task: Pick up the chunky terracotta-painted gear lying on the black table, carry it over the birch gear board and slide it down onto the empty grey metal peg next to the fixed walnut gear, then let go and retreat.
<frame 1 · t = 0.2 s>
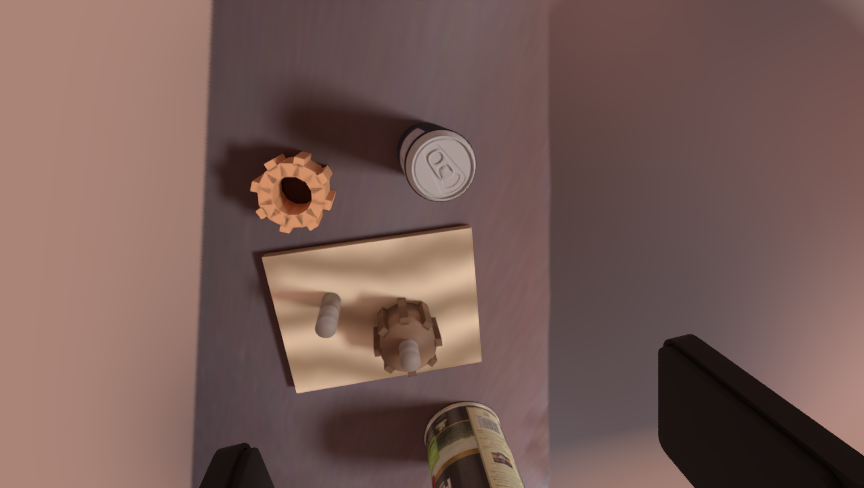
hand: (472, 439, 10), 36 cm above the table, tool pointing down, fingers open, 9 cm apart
loose gear: (299, 186, 42), on the table
coffee can: (462, 432, 56), on the table
gear board: (380, 308, 48), on the table
beverage can: (424, 150, 43), on the table
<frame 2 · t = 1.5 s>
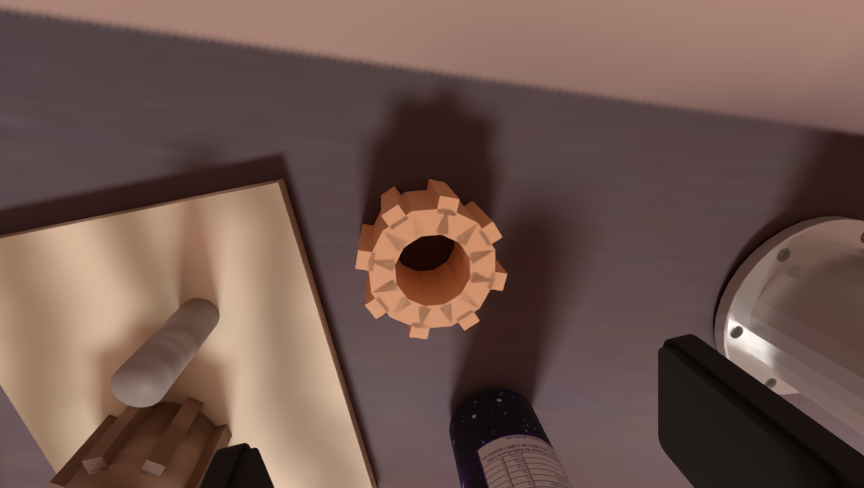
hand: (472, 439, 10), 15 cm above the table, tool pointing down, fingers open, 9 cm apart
loose gear: (423, 241, 24), on the table
gear board: (195, 388, 25), on the table
beverage can: (488, 413, 28), on the table
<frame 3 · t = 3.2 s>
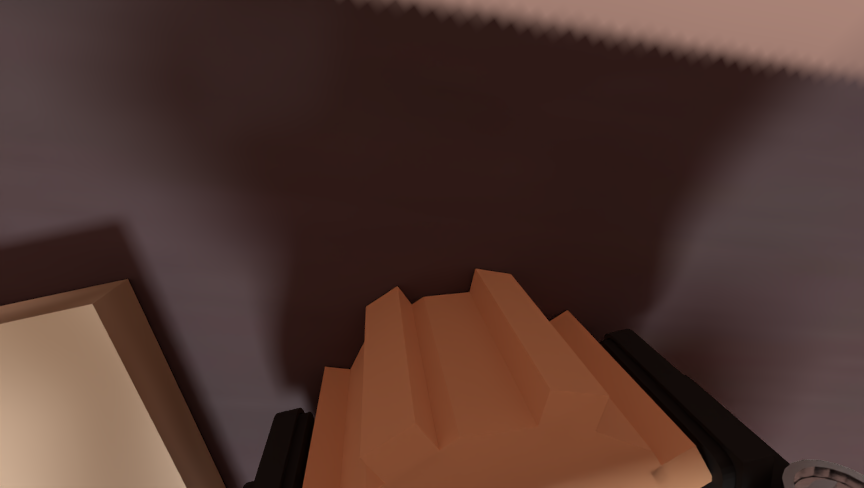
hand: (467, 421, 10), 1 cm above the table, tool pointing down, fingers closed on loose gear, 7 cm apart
loose gear: (459, 395, 11), on the table, touching gripper
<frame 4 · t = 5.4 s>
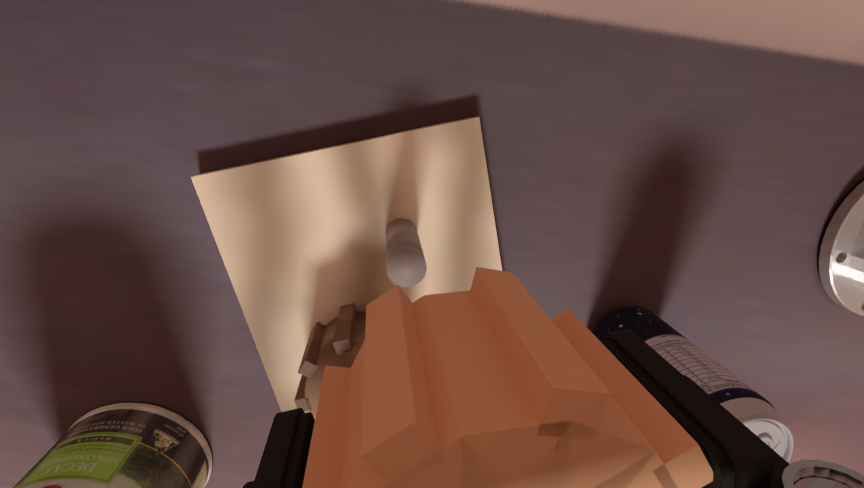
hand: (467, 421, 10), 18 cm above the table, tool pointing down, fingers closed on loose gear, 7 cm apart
loose gear: (460, 394, 11), point 17 cm above the table, touching gripper
coffee can: (140, 457, 31), on the table
gear board: (380, 303, 29), on the table
beverage can: (617, 333, 32), on the table
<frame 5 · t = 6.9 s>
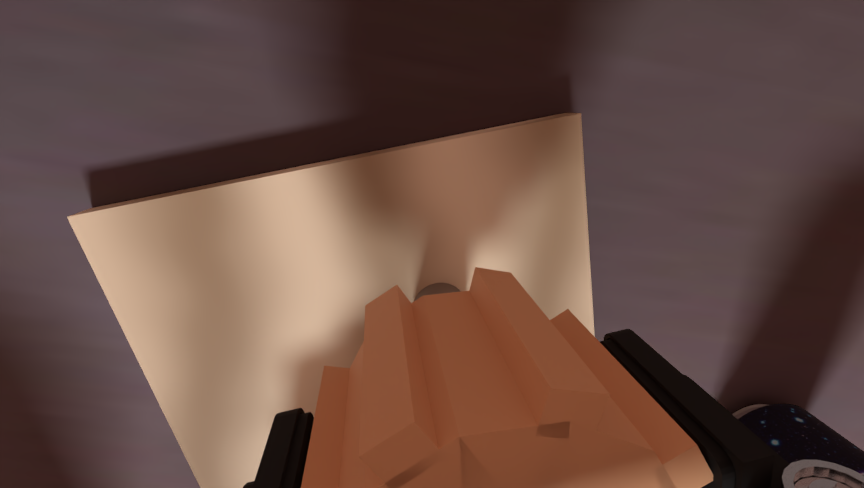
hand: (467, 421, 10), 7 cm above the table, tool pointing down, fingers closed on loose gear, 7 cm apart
loose gear: (459, 394, 11), point 6 cm above the table, touching gripper
gear board: (400, 406, 19), on the table
beverage can: (744, 434, 22), on the table
when the fingers open (4 cm above the table, at t = 8.0 s): loose gear drops 2 cm, resting on gear board.
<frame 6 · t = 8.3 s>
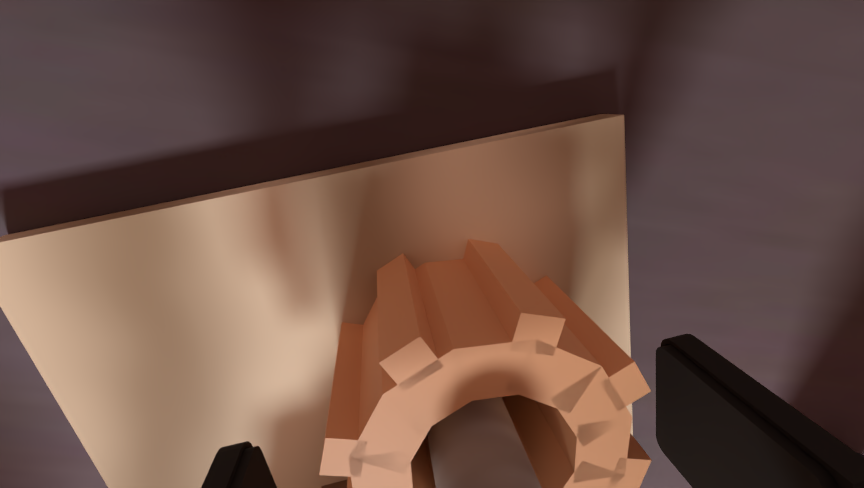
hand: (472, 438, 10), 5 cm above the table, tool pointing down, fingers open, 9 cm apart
loose gear: (455, 348, 13), point 1 cm above the table, touching gear board
gear board: (398, 462, 16), on the table
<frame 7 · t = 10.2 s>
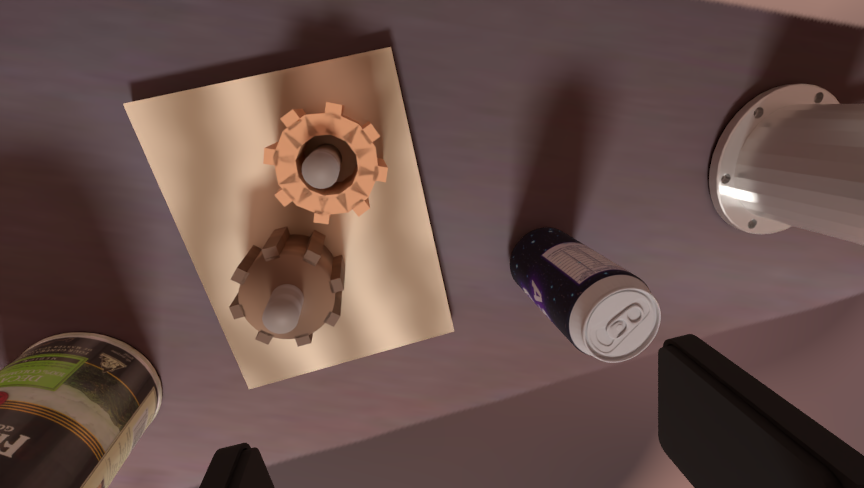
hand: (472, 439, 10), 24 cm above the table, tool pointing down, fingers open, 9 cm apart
loose gear: (331, 157, 29), point 1 cm above the table, touching gear board
coffee can: (91, 388, 33), on the table
gear board: (314, 229, 32), on the table
beverage can: (537, 256, 36), on the table
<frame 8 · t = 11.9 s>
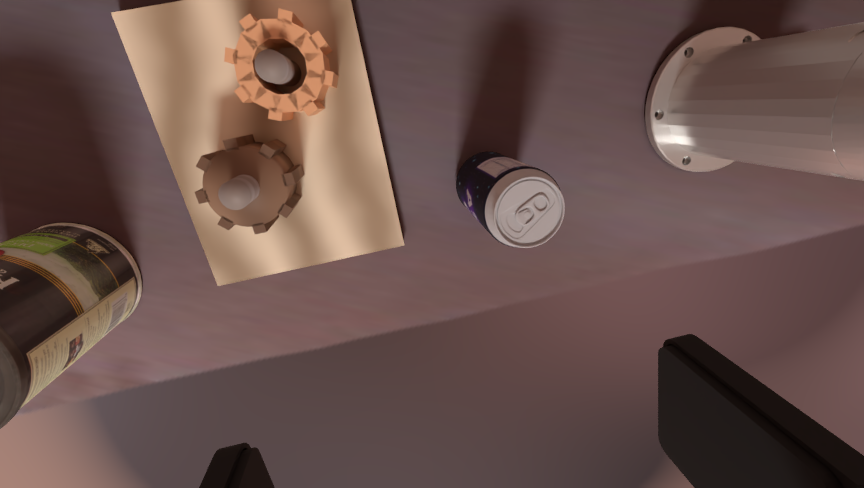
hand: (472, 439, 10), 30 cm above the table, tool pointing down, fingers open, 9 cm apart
loose gear: (291, 71, 33), point 1 cm above the table, touching gear board
coffee can: (80, 277, 37), on the table
gear board: (278, 142, 35), on the table
beverage can: (483, 181, 39), on the table
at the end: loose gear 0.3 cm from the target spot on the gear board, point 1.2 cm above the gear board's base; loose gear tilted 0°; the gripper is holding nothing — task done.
